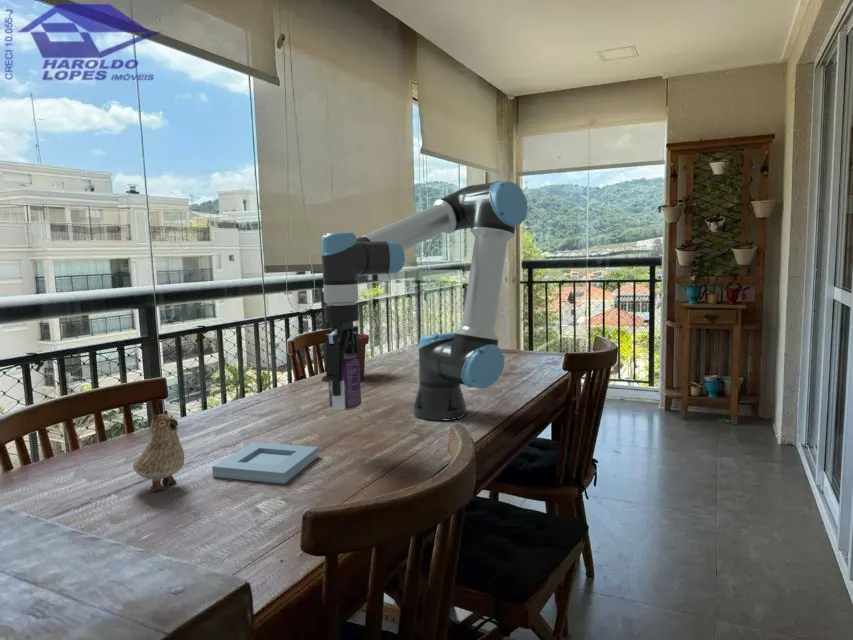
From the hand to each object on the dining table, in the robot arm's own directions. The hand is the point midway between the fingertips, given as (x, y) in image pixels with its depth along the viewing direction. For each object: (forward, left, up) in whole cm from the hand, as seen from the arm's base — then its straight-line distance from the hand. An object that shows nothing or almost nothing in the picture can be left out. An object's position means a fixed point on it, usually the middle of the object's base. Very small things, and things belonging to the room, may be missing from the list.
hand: (345, 404), depth 130 cm
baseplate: (+13, +11, -11) cm, 21 cm away
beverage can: (0, 0, -1) cm, 1 cm away
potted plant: (+29, -73, -12) cm, 79 cm away
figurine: (+28, +26, -12) cm, 41 cm away
